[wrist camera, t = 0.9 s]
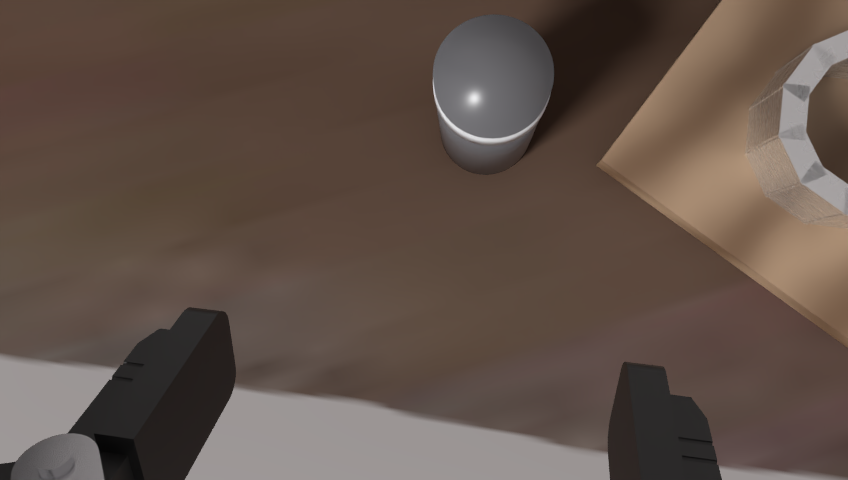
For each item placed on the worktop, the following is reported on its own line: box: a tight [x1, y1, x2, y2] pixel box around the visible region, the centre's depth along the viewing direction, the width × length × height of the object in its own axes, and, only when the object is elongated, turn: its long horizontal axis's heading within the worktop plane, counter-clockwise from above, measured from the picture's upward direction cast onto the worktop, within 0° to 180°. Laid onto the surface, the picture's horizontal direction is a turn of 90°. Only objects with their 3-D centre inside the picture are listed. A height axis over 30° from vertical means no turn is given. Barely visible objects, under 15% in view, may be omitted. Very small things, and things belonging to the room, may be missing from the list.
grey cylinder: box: [433, 15, 554, 175], centre depth 35 cm, size 5×5×10 cm
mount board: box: [596, 0, 848, 348], centre depth 38 cm, size 18×16×2 cm
